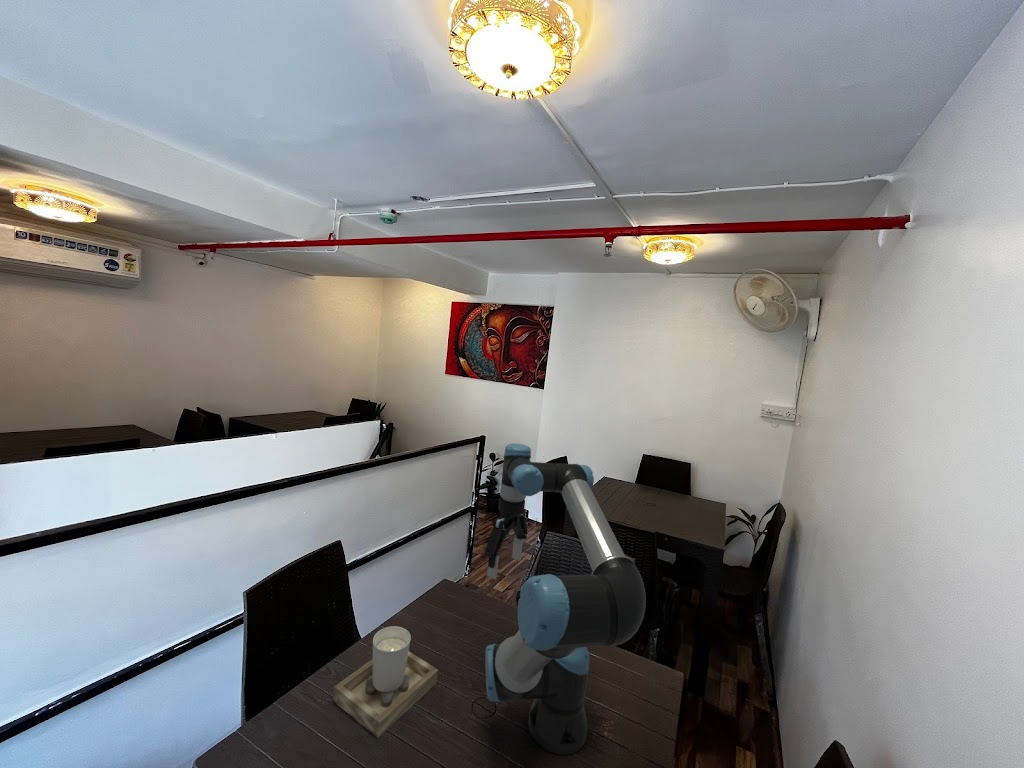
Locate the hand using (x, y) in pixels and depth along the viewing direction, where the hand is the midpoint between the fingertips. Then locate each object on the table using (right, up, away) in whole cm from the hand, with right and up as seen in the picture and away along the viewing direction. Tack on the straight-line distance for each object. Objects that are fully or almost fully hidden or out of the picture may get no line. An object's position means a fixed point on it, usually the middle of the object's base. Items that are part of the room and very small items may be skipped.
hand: (504, 567), depth 123 cm
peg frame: (-32, -29, -10) cm, 44 cm away
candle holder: (-31, -26, -10) cm, 42 cm away
